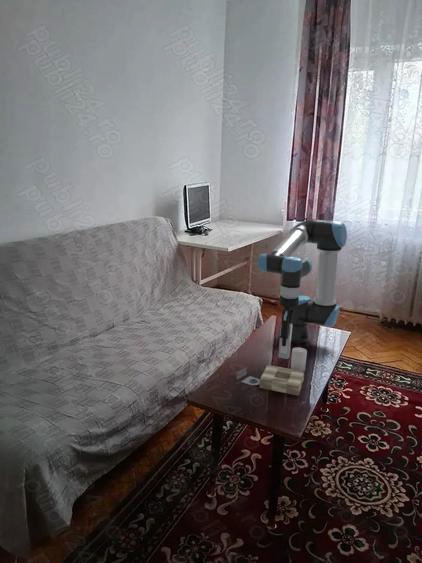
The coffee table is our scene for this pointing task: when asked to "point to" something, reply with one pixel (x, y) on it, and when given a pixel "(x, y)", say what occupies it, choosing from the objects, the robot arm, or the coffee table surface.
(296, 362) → the plastic dowel
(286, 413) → the coffee table surface
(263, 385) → the socket block
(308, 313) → the robot arm
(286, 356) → the grey long block
